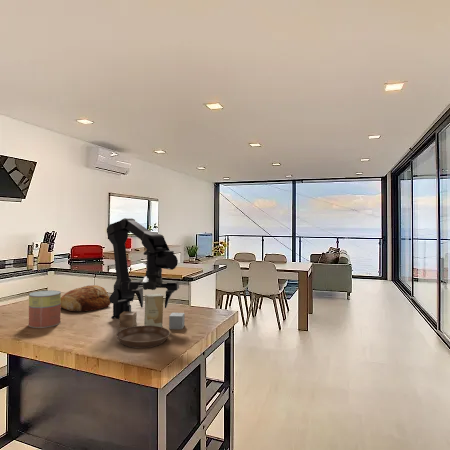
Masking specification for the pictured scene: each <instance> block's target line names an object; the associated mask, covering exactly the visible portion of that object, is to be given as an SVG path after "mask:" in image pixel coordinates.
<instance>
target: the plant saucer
mask: <svg viewBox="0 0 450 450" xmlns="http://www.w3.org/2000/svg"><path fill="white" fill-rule="evenodd" d="M170 332H171V331H170V329H168V328H165V327H163V326H162V327H158V326H144V325H135V326H134V327H129V328H121V329H120V330H118V332H116V334H115V335H116V337H117V340H119V342H120V343H121V344H122V345H124V346H126V347H129V348H134V349H145V348H153V347H156V346H159V345H161V344H163V343H164V342H165V341H166V340H167V339H168V337H169V336H170V335H171V333H170Z"/></svg>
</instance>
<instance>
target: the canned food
mask: <svg viewBox="0 0 450 450" xmlns="http://www.w3.org/2000/svg"><path fill="white" fill-rule="evenodd" d="M61 293H62V292H61V291H60V290H53V289H51V290H40V291H39V290H38V291H33V292H30V293H28V325H27V326H28V327H29V328H32V329H42V328H52V327H54V326H55V327H56V326H58V325H60V324H61V312H62V311H61V309H62V308H61V297H62V295H61Z"/></svg>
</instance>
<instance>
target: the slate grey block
mask: <svg viewBox="0 0 450 450" xmlns="http://www.w3.org/2000/svg"><path fill="white" fill-rule="evenodd" d="M185 318H186V317H185V312H171V313H170V314H169V316H168V323H169V324H168V330H183V328H184V327H185Z"/></svg>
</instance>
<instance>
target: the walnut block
mask: <svg viewBox="0 0 450 450" xmlns="http://www.w3.org/2000/svg"><path fill="white" fill-rule="evenodd" d="M135 326H137V311H131V312H125V311H124V312H123V313H121V314H120V318H119V328H121V329H125V328H129V327H135Z"/></svg>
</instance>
